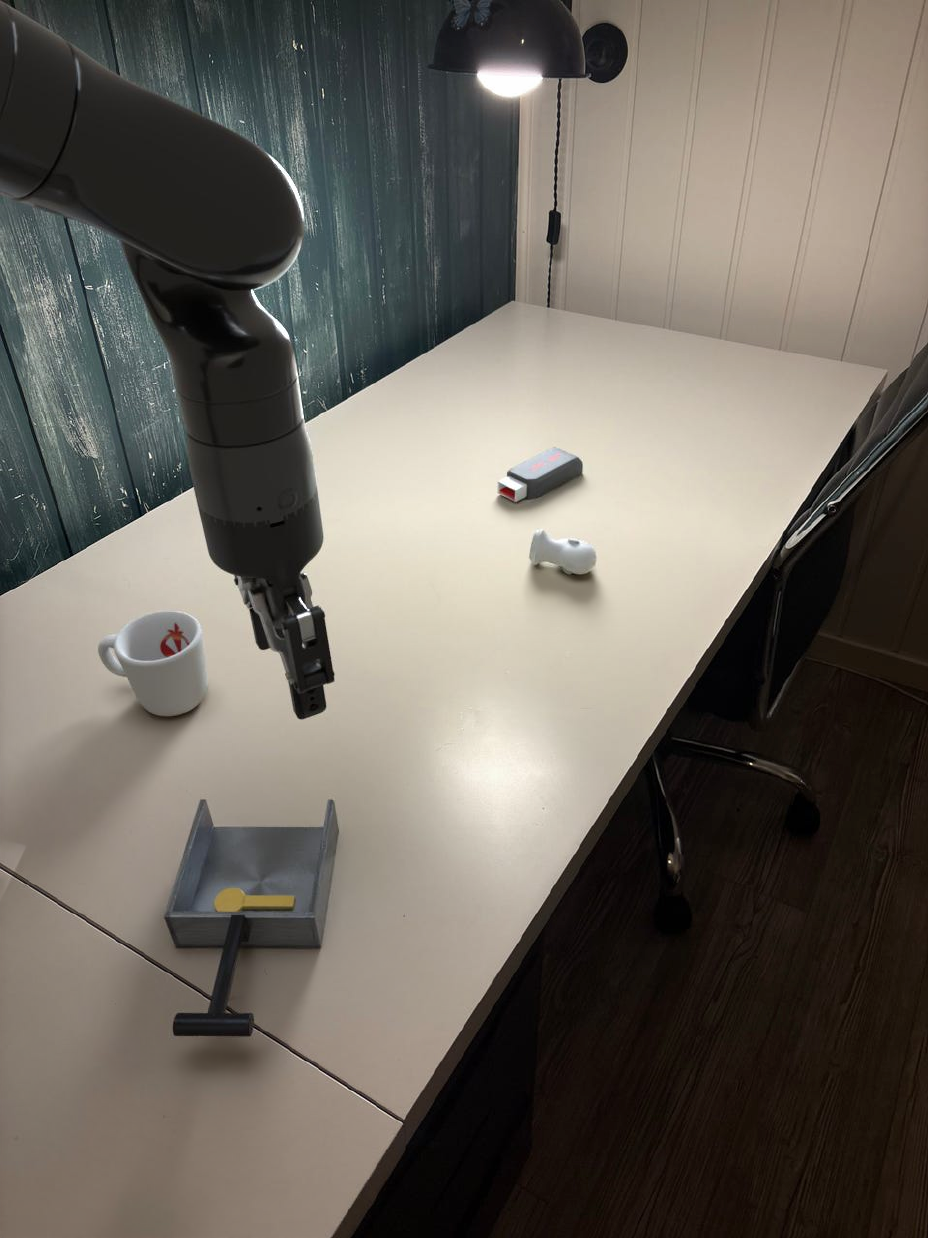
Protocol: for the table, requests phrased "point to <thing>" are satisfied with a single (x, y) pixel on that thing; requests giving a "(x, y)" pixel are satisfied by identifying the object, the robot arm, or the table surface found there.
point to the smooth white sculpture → (563, 553)
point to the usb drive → (540, 474)
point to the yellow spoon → (250, 901)
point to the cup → (160, 661)
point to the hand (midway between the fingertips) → (290, 677)
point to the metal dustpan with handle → (255, 868)
